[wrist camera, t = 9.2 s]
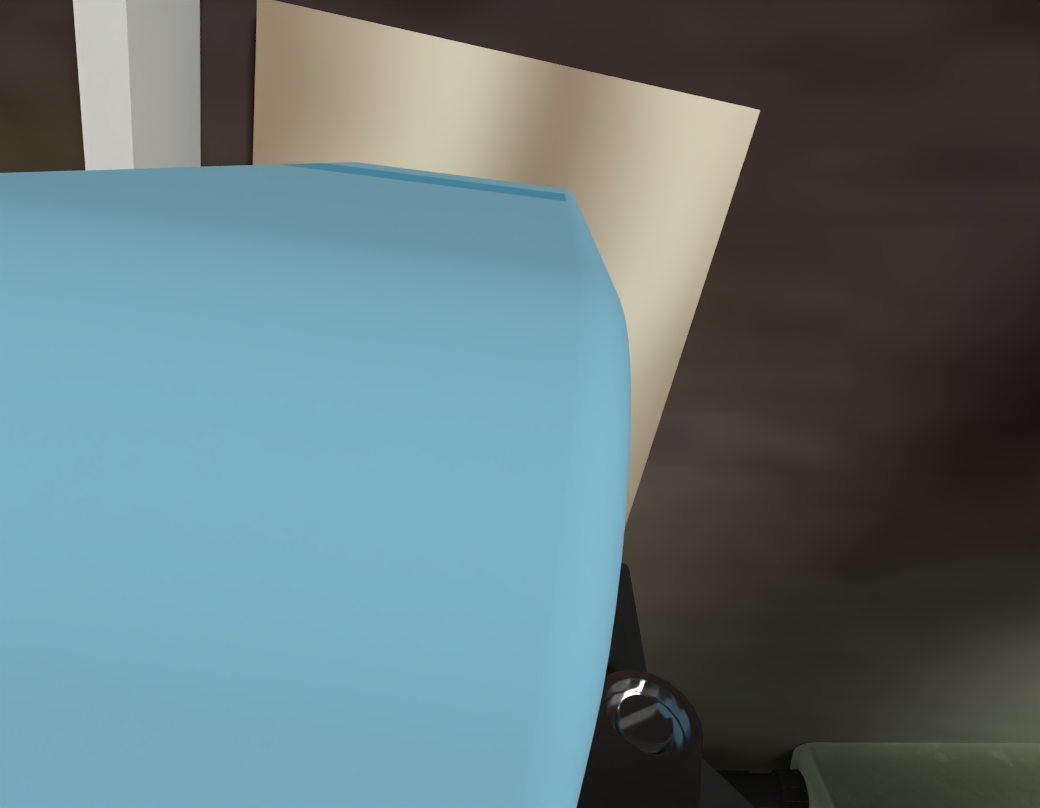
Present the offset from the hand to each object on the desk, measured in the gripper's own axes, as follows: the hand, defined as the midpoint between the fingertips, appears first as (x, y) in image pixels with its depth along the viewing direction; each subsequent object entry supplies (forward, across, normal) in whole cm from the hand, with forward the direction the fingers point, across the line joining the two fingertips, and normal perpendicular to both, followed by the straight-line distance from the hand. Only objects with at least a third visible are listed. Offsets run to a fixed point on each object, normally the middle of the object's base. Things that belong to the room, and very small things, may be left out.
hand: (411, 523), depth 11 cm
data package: (+5, 0, 0) cm, 5 cm away
